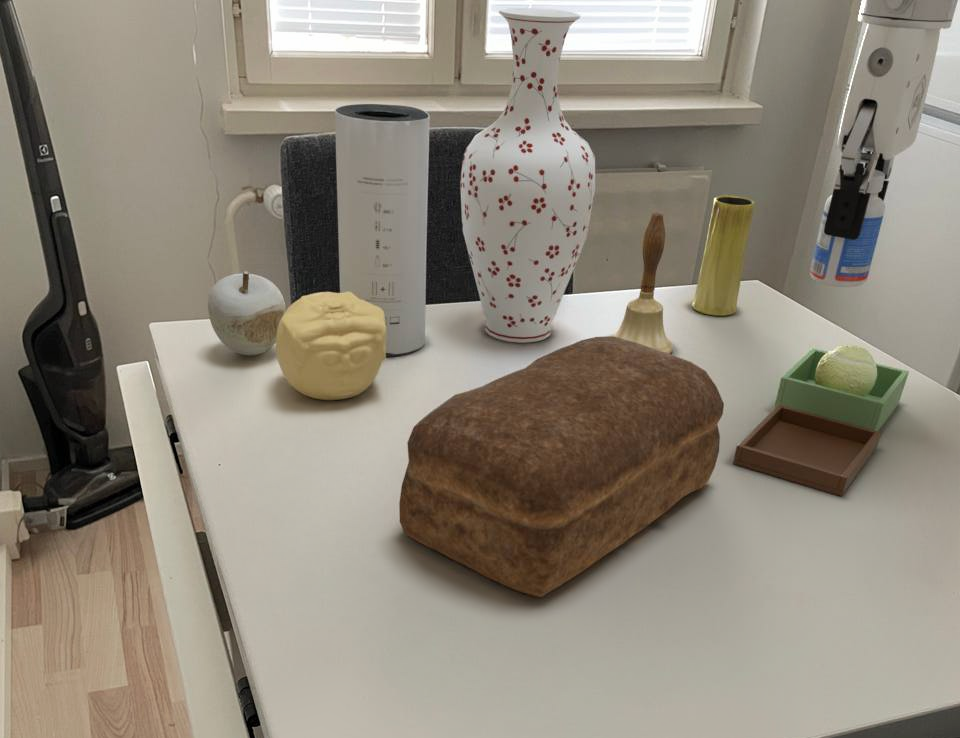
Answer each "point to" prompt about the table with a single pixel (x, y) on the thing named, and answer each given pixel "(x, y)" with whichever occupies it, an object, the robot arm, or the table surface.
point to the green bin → (841, 394)
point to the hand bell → (648, 295)
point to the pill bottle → (849, 245)
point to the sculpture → (331, 345)
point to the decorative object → (246, 312)
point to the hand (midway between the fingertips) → (850, 227)
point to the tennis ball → (847, 370)
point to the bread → (560, 460)
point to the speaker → (384, 214)
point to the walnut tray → (807, 449)
